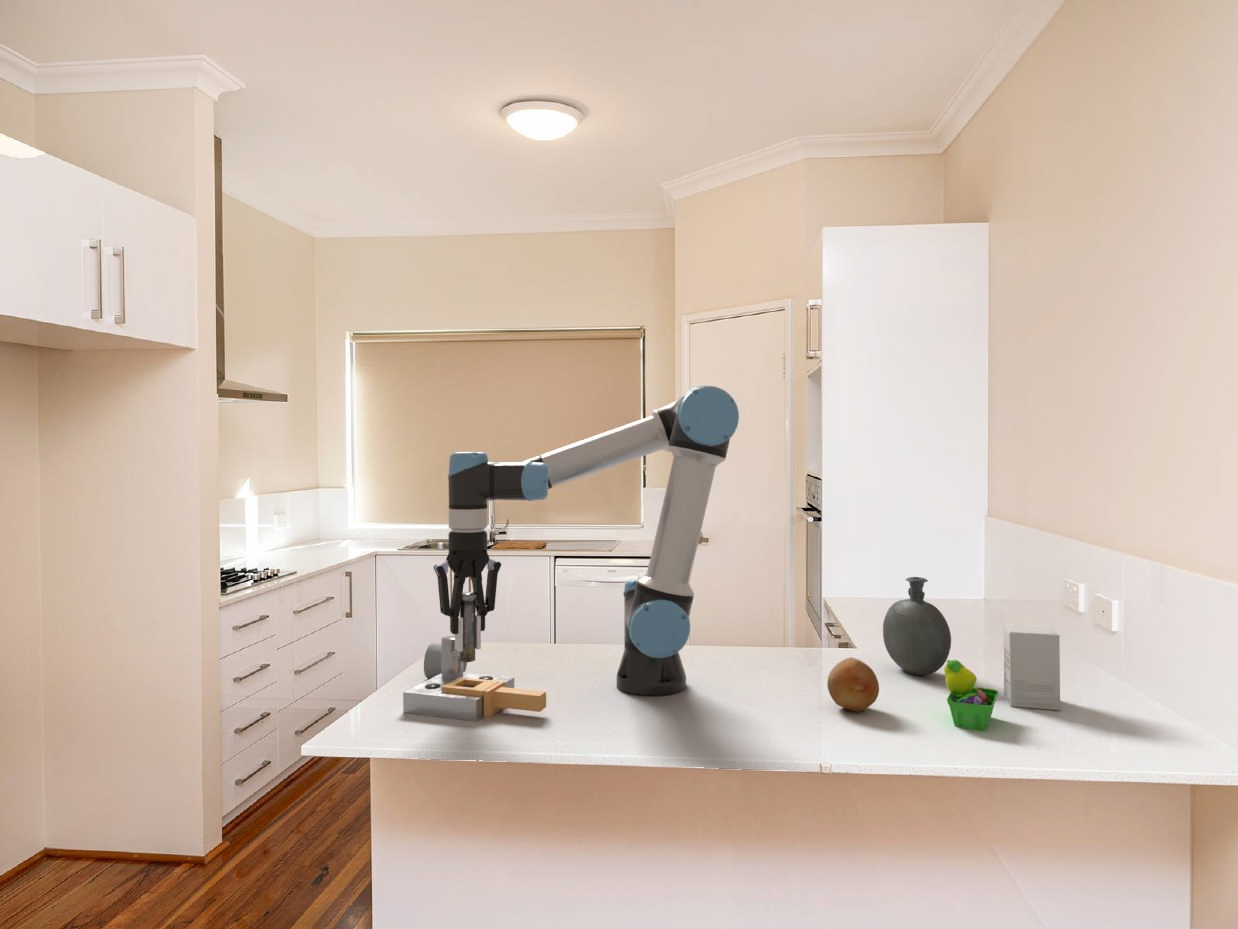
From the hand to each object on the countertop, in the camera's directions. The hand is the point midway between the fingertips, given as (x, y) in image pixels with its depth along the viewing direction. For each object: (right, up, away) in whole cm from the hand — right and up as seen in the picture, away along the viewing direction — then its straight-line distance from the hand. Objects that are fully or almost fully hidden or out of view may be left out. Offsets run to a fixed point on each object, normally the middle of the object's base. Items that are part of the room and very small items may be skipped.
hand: (467, 648), depth 153 cm
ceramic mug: (-9, -12, +23) cm, 28 cm away
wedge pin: (0, -2, 0) cm, 2 cm away
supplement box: (+113, -12, +3) cm, 114 cm away
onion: (+76, -12, -1) cm, 77 cm away
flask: (+98, -12, +24) cm, 102 cm away
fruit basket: (+96, -12, -8) cm, 97 cm away
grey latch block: (-2, -12, +3) cm, 12 cm away
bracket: (+6, -12, -2) cm, 13 cm away
